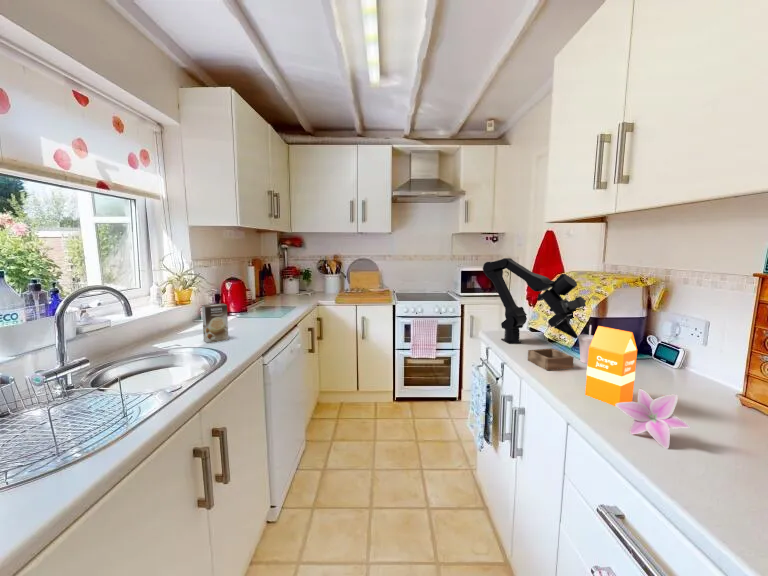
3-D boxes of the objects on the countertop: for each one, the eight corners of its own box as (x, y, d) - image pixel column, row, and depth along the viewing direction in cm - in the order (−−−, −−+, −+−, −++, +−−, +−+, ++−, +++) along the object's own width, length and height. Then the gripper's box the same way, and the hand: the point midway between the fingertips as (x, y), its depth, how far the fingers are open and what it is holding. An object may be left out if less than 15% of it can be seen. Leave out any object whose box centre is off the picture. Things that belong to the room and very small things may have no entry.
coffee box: (206, 343, 144) (204, 307, 142) (203, 340, 149) (201, 305, 147) (229, 339, 150) (227, 304, 148) (225, 336, 155) (223, 302, 153)
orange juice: (618, 407, 88) (625, 334, 85) (584, 394, 95) (590, 327, 93) (632, 400, 92) (639, 330, 89) (598, 389, 99) (604, 323, 97)
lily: (607, 423, 82) (608, 397, 77) (647, 402, 83) (650, 376, 78) (654, 465, 72) (659, 439, 67) (699, 441, 73) (707, 414, 68)
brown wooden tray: (527, 360, 124) (528, 350, 124) (551, 358, 126) (552, 348, 126) (547, 370, 114) (547, 359, 113) (572, 368, 116) (573, 357, 116)
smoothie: (600, 365, 119) (603, 327, 118) (582, 365, 119) (585, 327, 118) (589, 359, 126) (592, 323, 124) (572, 359, 126) (575, 323, 124)
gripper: (558, 291, 120) (588, 327, 112) (584, 288, 130) (613, 320, 123) (536, 309, 128) (563, 344, 120) (563, 305, 138) (589, 336, 130)
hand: (583, 336), depth 123 cm, fingers open, 9 cm apart
